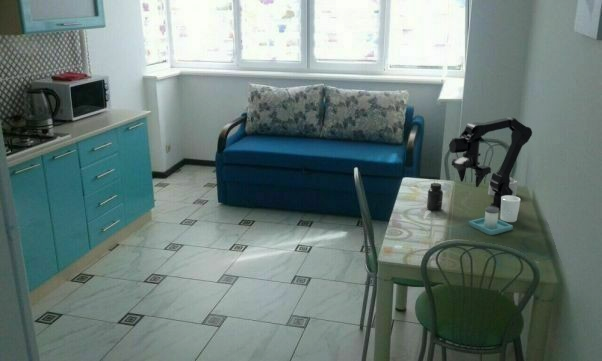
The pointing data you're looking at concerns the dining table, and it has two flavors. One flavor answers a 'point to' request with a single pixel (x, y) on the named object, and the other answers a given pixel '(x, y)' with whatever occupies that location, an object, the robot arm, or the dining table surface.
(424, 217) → the butter knife
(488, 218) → the spice jar
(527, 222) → the dining table surface
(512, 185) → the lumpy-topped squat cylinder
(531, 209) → the dining table surface
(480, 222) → the tray
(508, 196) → the white cup
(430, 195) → the supplement bottle
